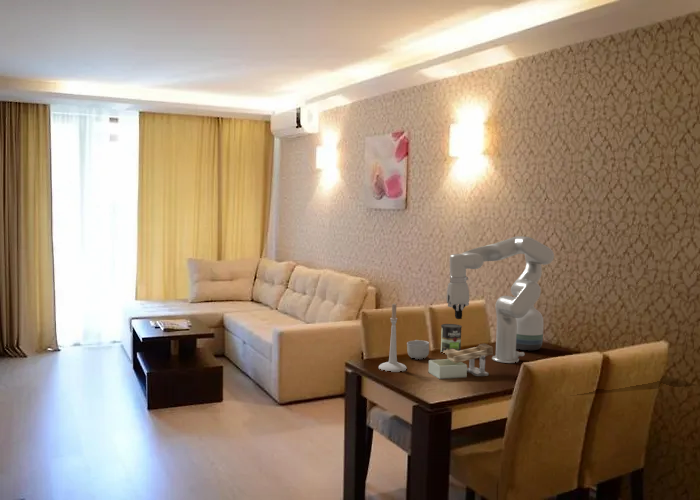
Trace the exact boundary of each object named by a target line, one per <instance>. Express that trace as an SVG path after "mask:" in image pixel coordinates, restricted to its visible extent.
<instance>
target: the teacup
mask: <svg viewBox="0 0 700 500" xmlns="http://www.w3.org/2000/svg"><path fill="white" fill-rule="evenodd" d="M406 347H407V348H406V350H407V355H408V357H410V358H411V359H412V358H415V359H414V360H418V359H419V360H424V359H426V358H427V357H428V355H430V342H429V341H427V340H421V339H420V340H419V339H415V340H409V341H407V342H406ZM423 358H424V359H423Z"/></svg>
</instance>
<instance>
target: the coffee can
mask: <svg viewBox="0 0 700 500" xmlns="http://www.w3.org/2000/svg"><path fill="white" fill-rule="evenodd" d="M440 326H441V335H440V338H441V339H440V353H441V352H443V351H444V350H449V349H455V350H457V351H460V350H462V347H461V345H462V327H463V326H462V325H460V324H457V323H456V324H455V323H442V324H441V325H440Z"/></svg>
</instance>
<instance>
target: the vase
mask: <svg viewBox="0 0 700 500" xmlns="http://www.w3.org/2000/svg"><path fill="white" fill-rule="evenodd" d="M534 305H535V304H534ZM534 305H533V306H532V308H531V309H530V310H529V311H528V313H527V314H526V315H525V316H524V317H522V318H516V321H517V334H516V350H519V349H520V351H526V350H528V351H529V352H531V351H537V350H540V349H541V348H542V346H543V339H544V317H543V314H542V313H541V312H540V311H539V310H538V309H537V308H536V307H535V306H534Z"/></svg>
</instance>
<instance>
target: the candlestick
mask: <svg viewBox="0 0 700 500" xmlns="http://www.w3.org/2000/svg"><path fill="white" fill-rule="evenodd" d="M389 319H390V323H391V327H390V328H391V331H390V332H391V333H390V345H389V357H388V361H386V362H382V363H380V364H379V365H378V369H379V370H380V369H381V370H380V371H383V370H385V371H384V372H387V371H391V372H390V373H399V372H400V371H402V372H406V371H407V370H408V368H407V366H406V365H405V364H404V363H401V362H398V358H397V354H398V353H397V327H396V325H397V323H398V321H397V320H398V318H397V303H391V317H390V318H389ZM406 369H407V370H406Z"/></svg>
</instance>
